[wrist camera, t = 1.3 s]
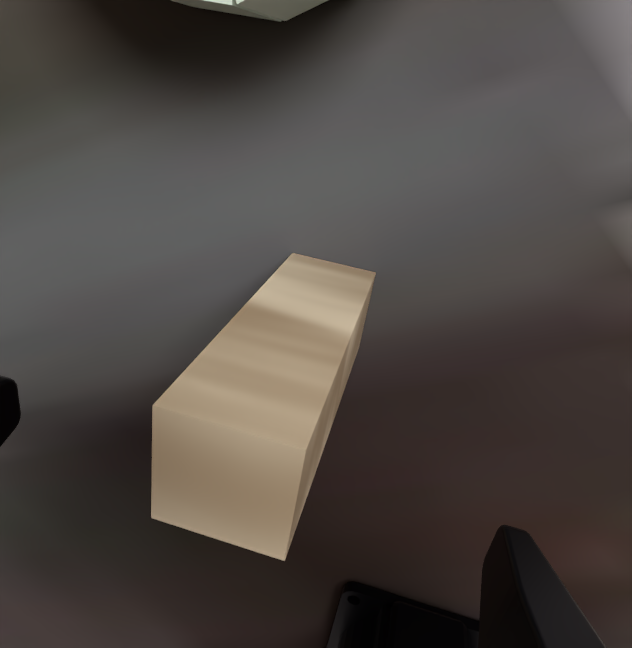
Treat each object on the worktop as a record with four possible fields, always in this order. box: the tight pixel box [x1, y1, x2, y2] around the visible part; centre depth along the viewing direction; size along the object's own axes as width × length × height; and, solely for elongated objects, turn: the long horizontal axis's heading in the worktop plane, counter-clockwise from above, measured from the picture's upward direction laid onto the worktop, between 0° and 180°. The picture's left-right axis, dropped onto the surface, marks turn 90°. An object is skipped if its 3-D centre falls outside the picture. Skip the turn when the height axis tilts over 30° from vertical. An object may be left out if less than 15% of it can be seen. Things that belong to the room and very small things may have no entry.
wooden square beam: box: [151, 253, 376, 561], centre depth 12 cm, size 2×2×8 cm
